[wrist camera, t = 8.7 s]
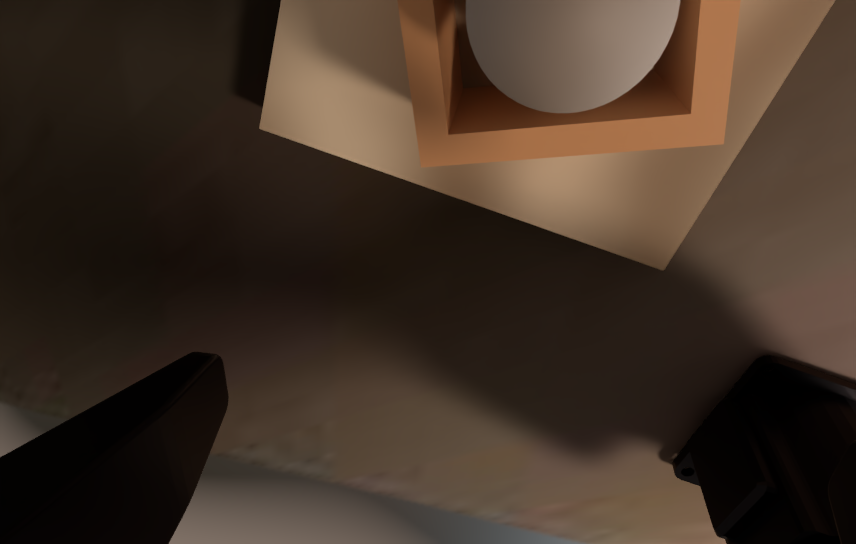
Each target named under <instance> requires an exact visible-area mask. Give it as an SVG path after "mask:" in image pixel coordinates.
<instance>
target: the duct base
mask: <svg viewBox="0 0 856 544" xmlns="http://www.w3.org/2000/svg"><path fill="white" fill-rule="evenodd" d="M454 2H455V12H456V22H457V33H458V43H459V53H460V63H461V73H462V83H463V88H474V87H484V86H494V85H495V86H496V87H497V88H498V89H499V90H500V91H501V92H503V93H504V94H505V95H506V96H508V97H509V98H511V99H513V100H514V101H516V102H517V103H520V104H522V105H524V106H526V107H529V108H532V109H535V110H539V111H543V112H550V113H575V112H582V111H586V110H590V109H594V108H597V107H599V106H602V105H605V104H607V103H609V102H611V101H613V100H615V99H617V98H618V97H620V96H621V95H623V94H624V93H626V92H627V91H629V90H630V89H631V88H633V87H634V86H635V85H636V84H637V83H639V82H640V81H641V80H642V79H643V78H644V77H645V76H646V75H647V73H648V72H649V71H650V70H654V65H655V64H656V62H657V61H658V60H659V58H660V56H661V55H662V53H663V51H664V50H665V48H666V46H667V44H668V42H669V40H670V37H671V35H672V33H673V30H674V27H675V24H676V21H677V17H678V12H679V6H680V0H454ZM834 2H835V0H741V2H740V11H739V19H738V28H737V36H736V45H735V53H734V61H733V70H732V78H731V87H730V95H729V104H728V112H727V121H726V129H725V138H724V144H721V145H708V146H695V147H682V148H669V149H656V150H643V151H630V152H617V153H604V154H591V155H578V156H565V157H552V158H539V159H526V160H513V161H500V162H487V163H474V164H461V165H448V166H435V167H422V168H421V163H420V156H419V149H418V142H417V135H416V128H415V121H414V114H413V107H412V100H411V93H410V86H409V79H408V72H407V65H406V58H405V51H404V44H403V37H402V30H401V23H400V16H399V9H398V2H397V0H281V4H280V10H279V16H278V22H277V28H276V33H275V39H274V45H273V51H272V57H271V63H270V69H269V75H268V81H267V86H266V92H265V98H264V104H263V110H262V116H261V122H260V128H259V129H262V130H265V131H267V132H270V133H273V134H276V135H279V136H282V137H284V138H287V139H290V140H293V141H296V142H299V143H302V144H304V145H307V146H310V147H313V148H316V149H319V150H321V151H324V152H327V153H330V154H333V155H336V156H339V157H341V158H344V159H347V160H350V161H353V162H356V163H358V164H361V165H364V166H367V167H370V168H373V169H375V170H378V171H381V172H384V173H387V174H390V175H393V176H395V177H398V178H401V179H404V180H407V181H410V182H412V183H415V184H418V185H421V186H424V187H427V188H430V189H432V190H435V191H438V192H441V193H444V194H447V195H449V196H452V197H455V198H458V199H461V200H464V201H466V202H469V203H472V204H475V205H478V206H481V207H484V208H486V209H489V210H492V211H495V212H498V213H501V214H503V215H506V216H509V217H512V218H515V219H518V220H521V221H523V222H526V223H529V224H532V225H535V226H538V227H540V228H543V229H546V230H549V231H552V232H555V233H558V234H560V235H563V236H566V237H569V238H572V239H575V240H577V241H580V242H583V243H586V244H589V245H592V246H594V247H597V248H600V249H603V250H606V251H609V252H612V253H614V254H617V255H620V256H623V257H626V258H629V259H631V260H634V261H637V262H640V263H643V264H646V265H649V266H651V267H654V268H657V269H660V270H663V271H664V269H665V268H666V266H667V265H668V263H669V261H670V260H671V258H672V257H673V255H674V254H675V252H676V250H677V249H678V247H679V246H680V244H681V243H682V241H683V239H684V238H685V236H686V235H687V233H688V232H689V230H690V228H691V227H692V225H693V224H694V222H695V221H696V219H697V217H698V216H699V214H700V213H701V211H702V209H703V208H704V206H705V205H706V203H707V202H708V200H709V198H710V197H711V195H712V194H713V192H714V191H715V189H716V187H717V186H718V184H719V183H720V181H721V180H722V178H723V176H724V175H725V173H726V172H727V170H728V169H729V167H730V165H731V164H732V162H733V161H734V159H735V158H736V156H737V154H738V153H739V151H740V150H741V148H742V146H743V145H744V143H745V142H746V140H747V139H748V137H749V135H750V134H751V132H752V131H753V129H754V128H755V126H756V124H757V123H758V121H759V120H760V118H761V117H762V115H763V113H764V112H765V110H766V109H767V107H768V106H769V104H770V102H771V101H772V99H773V98H774V96H775V95H776V93H777V91H778V90H779V88H780V87H781V85H782V83H783V82H784V80H785V79H786V77H787V76H788V74H789V72H790V71H791V69H792V68H793V66H794V65H795V63H796V61H797V60H798V58H799V57H800V55H801V54H802V52H803V50H804V49H805V47H806V46H807V44H808V43H809V41H810V39H811V38H812V36H813V35H814V33H815V32H816V30H817V28H818V27H819V25H820V24H821V22H822V20H823V19H824V17H825V16H826V14H827V13H828V11H829V9H830V8H831V6H832V5H833V3H834Z"/></svg>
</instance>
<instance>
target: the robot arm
mask: <svg viewBox="0 0 856 544" xmlns="http://www.w3.org/2000/svg"><path fill="white" fill-rule="evenodd" d="M770 368H774V369H773V370H771V371H769V372H764V371H765V370H767V369H770ZM227 406H228V390H227V384H226V377H225V371H224V365H223V361H222V359H221V357H220V356H218V355H216V354H210V353H203V352H192V353H190V354H187V355H186V356H184V357H182V358H180V359H178V360H176V361H175V362H173V363H171V364H169V365H167V366H166V367H164V368H162V369H160V370H158V371H156V372H155V373H153V374H151V375H149V376H147V377H146V378H144V379H142V380H140V381H138V382H136V383H135V384H133V385H131V386H129V387H127V388H126V389H124V390H122V391H120V392H118V393H116V394H115V395H113V396H111V397H109V398H107V399H106V400H104V401H102V402H100V403H98V404H96V405H95V406H93V407H91V408H89V409H87V410H86V411H84V412H82V413H80V414H78V415H76V416H75V417H73V418H71V419H69V420H67V421H66V422H64V423H62V424H60V425H58V426H56V427H55V428H53V429H51V430H49V431H47V432H46V433H44V434H42V435H40V436H38V437H36V438H35V439H33V440H31V441H29V442H27V443H26V444H24V445H22V446H20V447H18V448H16V449H15V450H13V451H11V452H10V453H8V454H6V455H4V456H2V457H0V544H169V542H170V540H171V538H172V536H173V534H174V532H175V530H176V528H177V526H178V525H179V523H180V521H181V519H182V517H183V515H184V513H185V511H186V509H187V506H188V505H189V503H190V501H191V498H192V496H193V494H194V491H195V489H196V486H197V484H198V481H199V479H200V476H201V474H202V471H203V469H204V466H205V464H206V461H207V459H208V456H209V454H210V451H211V449H212V446H213V443H214V441H215V438H216V436H217V433H218V431H219V428H220V426H221V423H222V421H223V418H224V416H225V413H226V410H227ZM672 464H673V469H674V473H675V475H676V477H677V478H679V479H681V480H684V481H687V482H690V483H693V484H696V485H699V486H700V487H701V490H702V493H703V496H704V499H705V503H706V506H707V509H708V512H709V515H710V519H711V522H712V525H713V528H714V531H715V533H716V535H717V536H718V537H720V538H724V539H725V540H726V543H727V544H856V384H853V383H851V382H848V381H845V380H842V379H839V378H836V377H833V376H830V375H827V374H825V373H822V372H819V371H816V370H813V369H810V368H807V367H804V366H802V365H799V364H796V363H793V362H790V361H787V360H784V359H781V358H779V357H776V356H770V355H769V356H763V357H760V358H758V359H757V360H756V361H755V362H753V364H752V365H751V366H750V367H749V369H748V370H747V371H746V372H745V374H744V375H743V376H742V377H741V378H740V380H739V381H738V382H737V383H736V385H735V386H734V387H733V388H732V390H731V391H730V392H729V393H728V394H727V396H726V397H725V398H724V399H723V400H722V401H720V403H719V404H718V405H717V406H716V408H715V409H714V410H713V411H712V413H711V414H710V415H709V416H708V417H707V419H706V420H705V421H704V422H703V424H702V425H701V426H700V427H699V429H698V430H697V431H696V432H695V433H694V435H693V436H692V437H691V438H690V440H689V441H688V443H687V445H686V446H685V447H684V449H683V450H682V451H681V452H680V453H679V455H678V456H677V457H676V458H675V460H674V461H673V463H672ZM687 467H689V468H687ZM685 468H686V469H685Z"/></svg>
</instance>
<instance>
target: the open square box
mask: <svg viewBox="0 0 856 544" xmlns="http://www.w3.org/2000/svg"><path fill="white" fill-rule="evenodd" d="M397 2H398V9H399V16H400V23H401V30H402V37H403V44H404V51H405V58H406V65H407V72H408V79H409V86H410V93H411V100H412V107H413V114H414V121H415V128H416V135H417V142H418V149H419V156H420V163H421V168H422V167H435V166H448V165H461V164H474V163H487V162H500V161H513V160H526V159H539V158H552V157H565V156H578V155H591V154H604V153H617V152H630V151H643V150H656V149H669V148H682V147H695V146H708V145H721V144H724V138H725V129H726V121H727V112H728V104H729V95H730V87H731V78H732V70H733V61H734V53H735V45H736V36H737V28H738V19H739V11H740V2H741V0H680V6H679V12H678V17H677V21H676V24H675V27H674V30H673V33H672V35H671V37H670V40H669V42H668V44H667V46H666V48H665V50H664V51H663V53H662V55H661V56H660V58H659V60H658V61H657V62H656V64H655V65H654V70H650V71H649V72H648V73H647V75H646V76H645V77H644V78H643V79H642V80H641V81H640V82H639V83H637V84H636V85H635V86H634V87H633V88H631V89H630V90H629V91H627V92H626V93H624V94H623V95H621V96H620V97H618V98H617V99H615V100H613V101H611V102H609V103H607V104H605V105H602V106H599V107H597V108H594V109H590V110H586V111H582V112H575V113H550V112H543V111H539V110H535V109H532V108H529V107H526V106H524V105H522V104H520V103H517V102H516V101H514V100H513V99H511V98H509V97H508V96H506V95H505V94H504V93H503V92H501V91H500V90H499V89H498V88H497V87H496V86H495V85H494V86H484V87H474V88H463V83H462V73H461V63H460V53H459V43H458V33H457V22H456V12H455V2H454V0H397Z"/></svg>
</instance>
